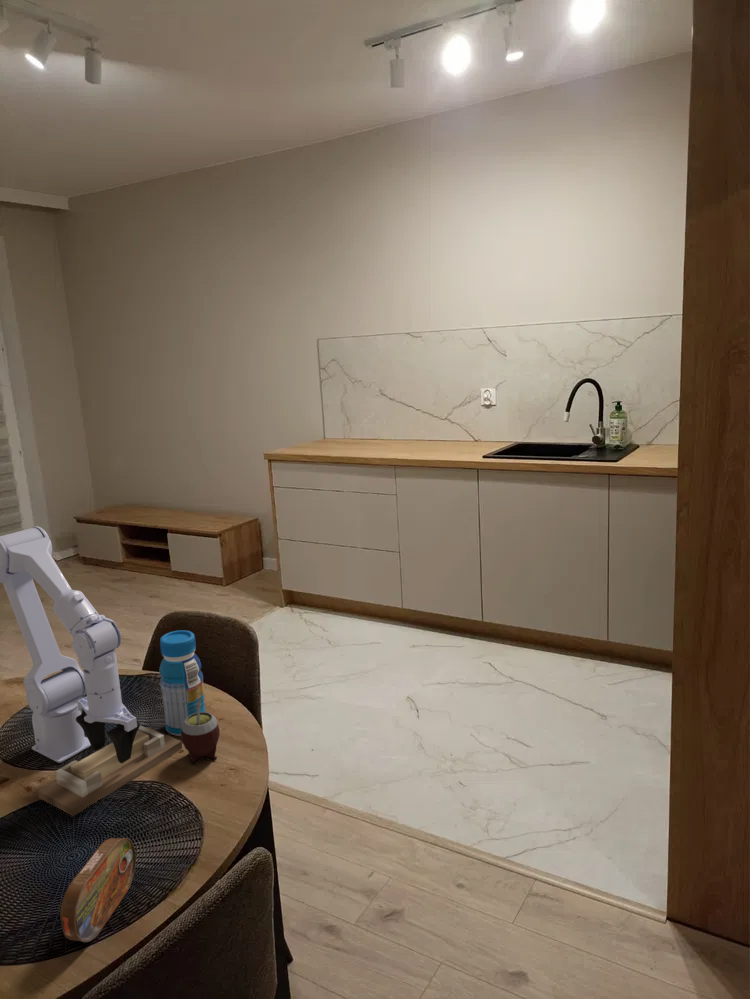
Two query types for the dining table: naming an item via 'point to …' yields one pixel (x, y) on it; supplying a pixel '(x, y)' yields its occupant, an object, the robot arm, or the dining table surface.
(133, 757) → the slat
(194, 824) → the dining table surface
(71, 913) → the tin
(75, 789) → the endcap rail
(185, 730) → the mate gourd
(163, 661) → the beverage bottle
